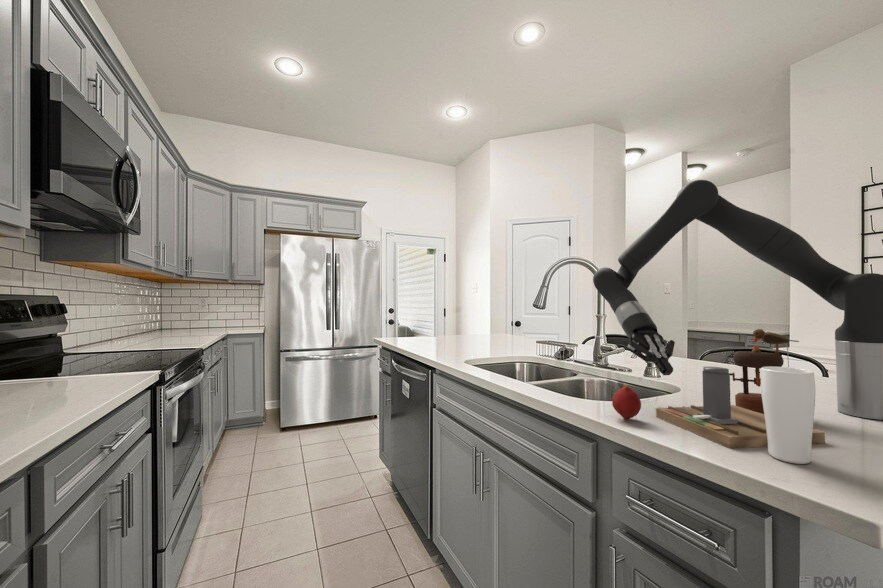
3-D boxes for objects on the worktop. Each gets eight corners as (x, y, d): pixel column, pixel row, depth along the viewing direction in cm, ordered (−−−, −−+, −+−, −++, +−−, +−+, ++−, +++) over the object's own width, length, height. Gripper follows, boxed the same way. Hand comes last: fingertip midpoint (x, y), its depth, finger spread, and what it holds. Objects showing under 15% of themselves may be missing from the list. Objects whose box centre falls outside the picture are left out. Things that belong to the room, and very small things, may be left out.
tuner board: (733, 413, 88) (732, 402, 88) (825, 443, 69) (824, 429, 69) (656, 416, 85) (655, 405, 86) (729, 448, 67) (729, 433, 67)
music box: (794, 411, 90) (791, 329, 90) (810, 423, 80) (807, 332, 81) (716, 403, 97) (714, 327, 98) (723, 413, 88) (720, 329, 89)
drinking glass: (760, 458, 62) (758, 369, 63) (764, 447, 67) (762, 364, 67) (817, 471, 57) (814, 374, 58) (817, 458, 62) (814, 369, 63)
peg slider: (716, 416, 78) (714, 366, 79) (737, 423, 73) (736, 370, 74) (684, 417, 77) (683, 366, 78) (704, 425, 73) (703, 371, 73)
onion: (628, 414, 87) (627, 380, 87) (647, 422, 81) (646, 386, 82) (607, 416, 86) (606, 382, 86) (625, 424, 80) (624, 387, 80)
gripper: (618, 311, 99) (650, 365, 86) (663, 311, 100) (702, 363, 88) (607, 330, 104) (636, 383, 91) (650, 329, 105) (685, 381, 93)
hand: (668, 373), depth 89 cm, fingers closed
